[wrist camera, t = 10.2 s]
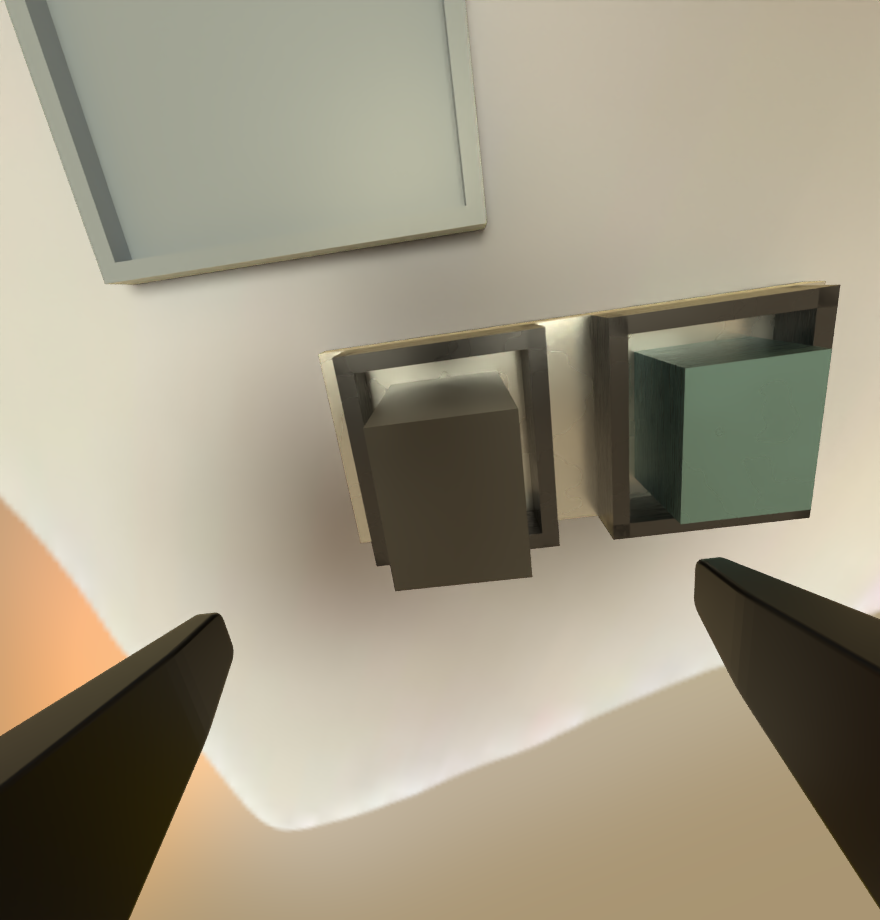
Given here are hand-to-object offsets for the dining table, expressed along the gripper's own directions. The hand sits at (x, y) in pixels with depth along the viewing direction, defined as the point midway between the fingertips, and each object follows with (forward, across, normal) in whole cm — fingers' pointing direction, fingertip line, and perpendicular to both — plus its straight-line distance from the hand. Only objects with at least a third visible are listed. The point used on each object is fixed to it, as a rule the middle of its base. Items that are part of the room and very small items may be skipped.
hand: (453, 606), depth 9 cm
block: (+10, 0, 0) cm, 10 cm away
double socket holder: (+11, -4, 0) cm, 12 cm away
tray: (+11, +4, -14) cm, 19 cm away
